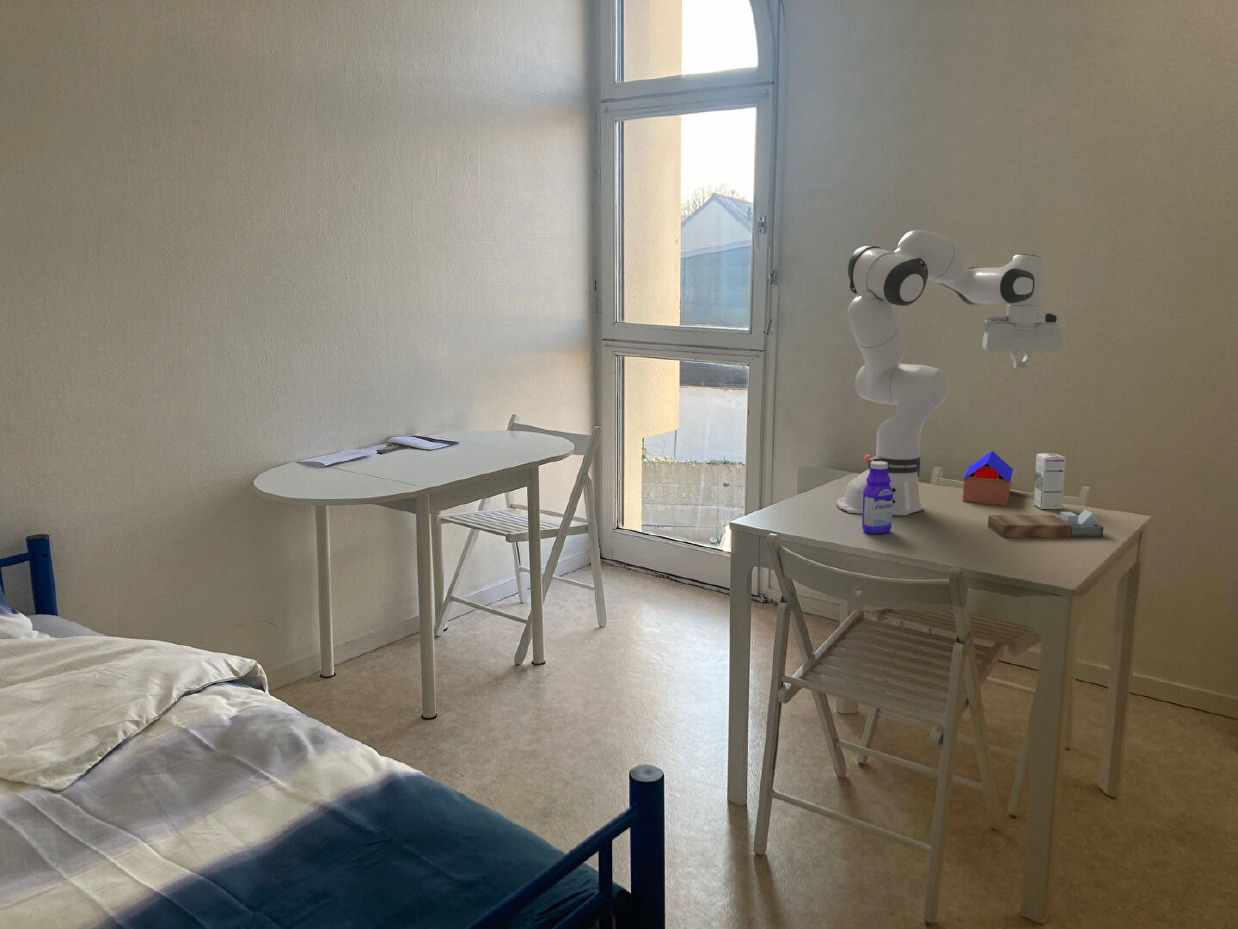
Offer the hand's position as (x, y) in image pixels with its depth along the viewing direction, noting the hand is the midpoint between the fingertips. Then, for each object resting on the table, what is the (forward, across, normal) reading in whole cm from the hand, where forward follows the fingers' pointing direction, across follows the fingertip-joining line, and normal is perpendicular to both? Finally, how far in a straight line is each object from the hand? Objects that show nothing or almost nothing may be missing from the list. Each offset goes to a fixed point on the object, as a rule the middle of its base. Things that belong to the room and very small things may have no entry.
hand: (1019, 367), depth 257 cm
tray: (+37, +4, -33) cm, 50 cm away
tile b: (+34, +3, -33) cm, 48 cm away
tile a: (+33, +5, -33) cm, 47 cm away
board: (+37, -8, -33) cm, 50 cm away
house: (+38, -4, +6) cm, 38 cm away
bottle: (+37, -45, -33) cm, 67 cm away
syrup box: (+37, +7, -8) cm, 39 cm away
